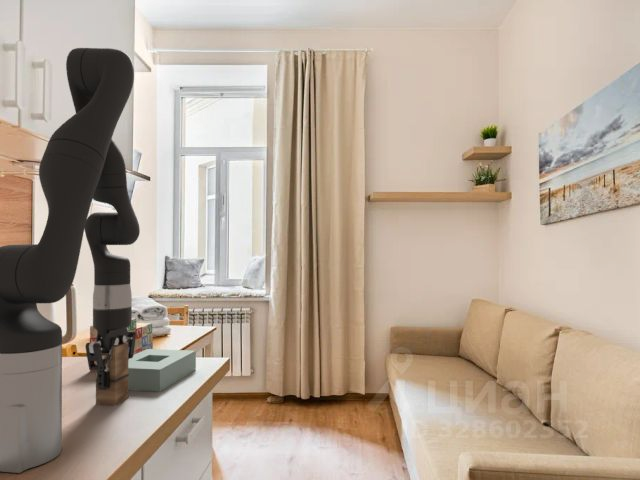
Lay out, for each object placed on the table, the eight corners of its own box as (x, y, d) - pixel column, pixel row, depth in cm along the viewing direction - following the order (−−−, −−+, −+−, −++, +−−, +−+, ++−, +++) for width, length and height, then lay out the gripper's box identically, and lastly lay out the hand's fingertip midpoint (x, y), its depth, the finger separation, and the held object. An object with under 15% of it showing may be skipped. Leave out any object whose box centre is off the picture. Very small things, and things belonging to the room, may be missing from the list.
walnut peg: (115, 405, 91) (115, 347, 91) (95, 404, 91) (95, 346, 91) (128, 397, 95) (128, 342, 95) (109, 396, 96) (109, 341, 96)
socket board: (160, 391, 99) (160, 369, 99) (104, 388, 101) (104, 366, 101) (195, 369, 117) (195, 350, 117) (147, 367, 119) (147, 349, 119)
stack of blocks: (134, 352, 137) (134, 313, 137) (153, 352, 136) (153, 313, 136) (89, 371, 116) (89, 325, 116) (111, 372, 115) (111, 325, 115)
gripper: (106, 310, 86) (106, 397, 86) (147, 301, 100) (147, 375, 100) (72, 309, 87) (72, 395, 87) (117, 301, 101) (117, 374, 101)
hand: (112, 384), depth 93 cm, fingers open, 5 cm apart
